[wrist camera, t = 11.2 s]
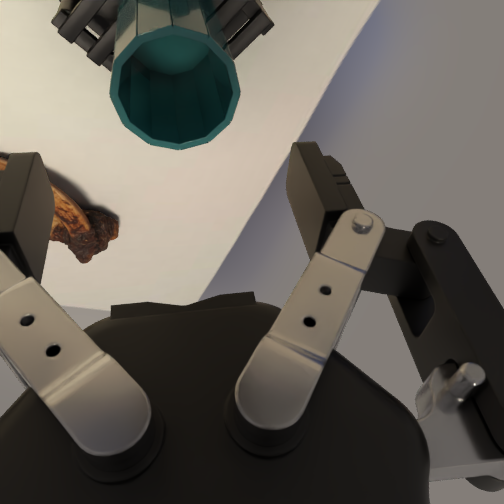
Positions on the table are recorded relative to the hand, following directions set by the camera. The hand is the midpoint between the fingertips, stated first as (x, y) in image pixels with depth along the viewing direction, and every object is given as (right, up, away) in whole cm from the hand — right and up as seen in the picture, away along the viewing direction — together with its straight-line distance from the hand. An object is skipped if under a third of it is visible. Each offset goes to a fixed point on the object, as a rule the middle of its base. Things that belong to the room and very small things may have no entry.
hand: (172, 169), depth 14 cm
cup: (-3, +11, +13) cm, 18 cm away
